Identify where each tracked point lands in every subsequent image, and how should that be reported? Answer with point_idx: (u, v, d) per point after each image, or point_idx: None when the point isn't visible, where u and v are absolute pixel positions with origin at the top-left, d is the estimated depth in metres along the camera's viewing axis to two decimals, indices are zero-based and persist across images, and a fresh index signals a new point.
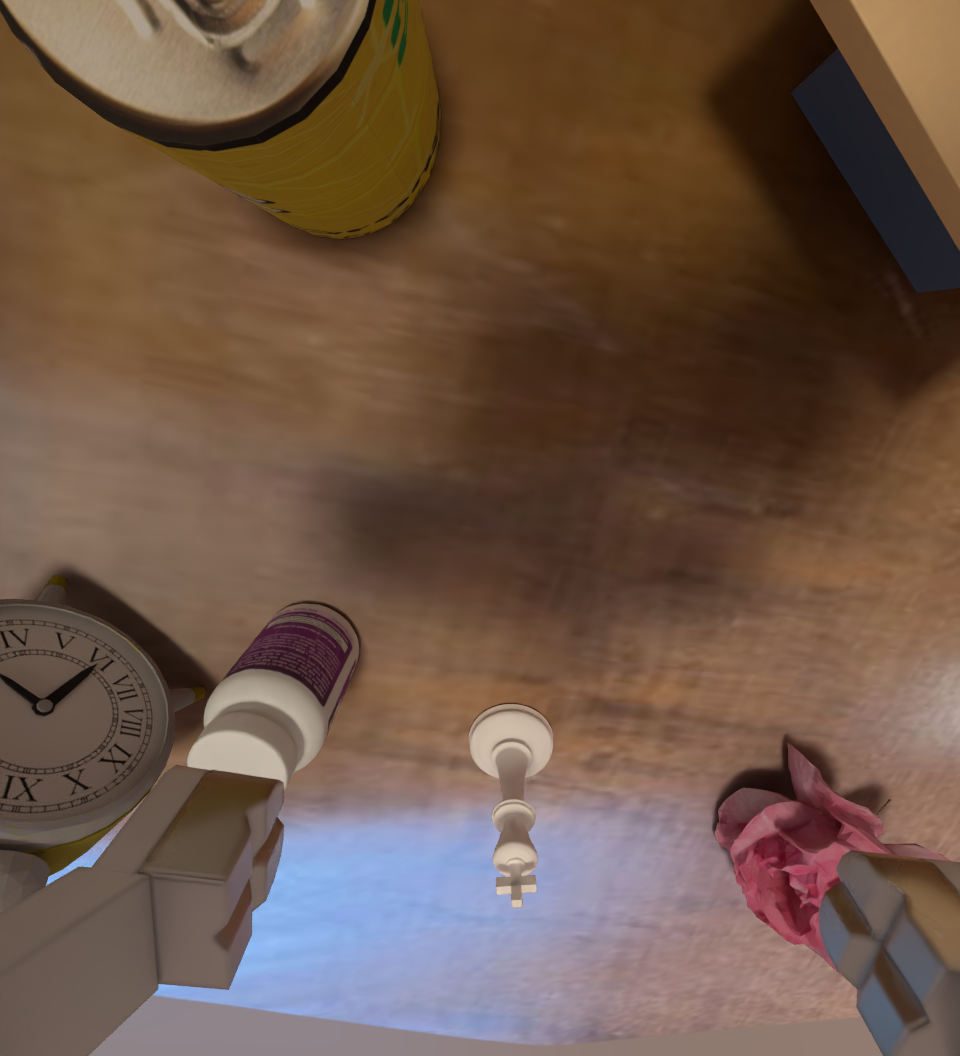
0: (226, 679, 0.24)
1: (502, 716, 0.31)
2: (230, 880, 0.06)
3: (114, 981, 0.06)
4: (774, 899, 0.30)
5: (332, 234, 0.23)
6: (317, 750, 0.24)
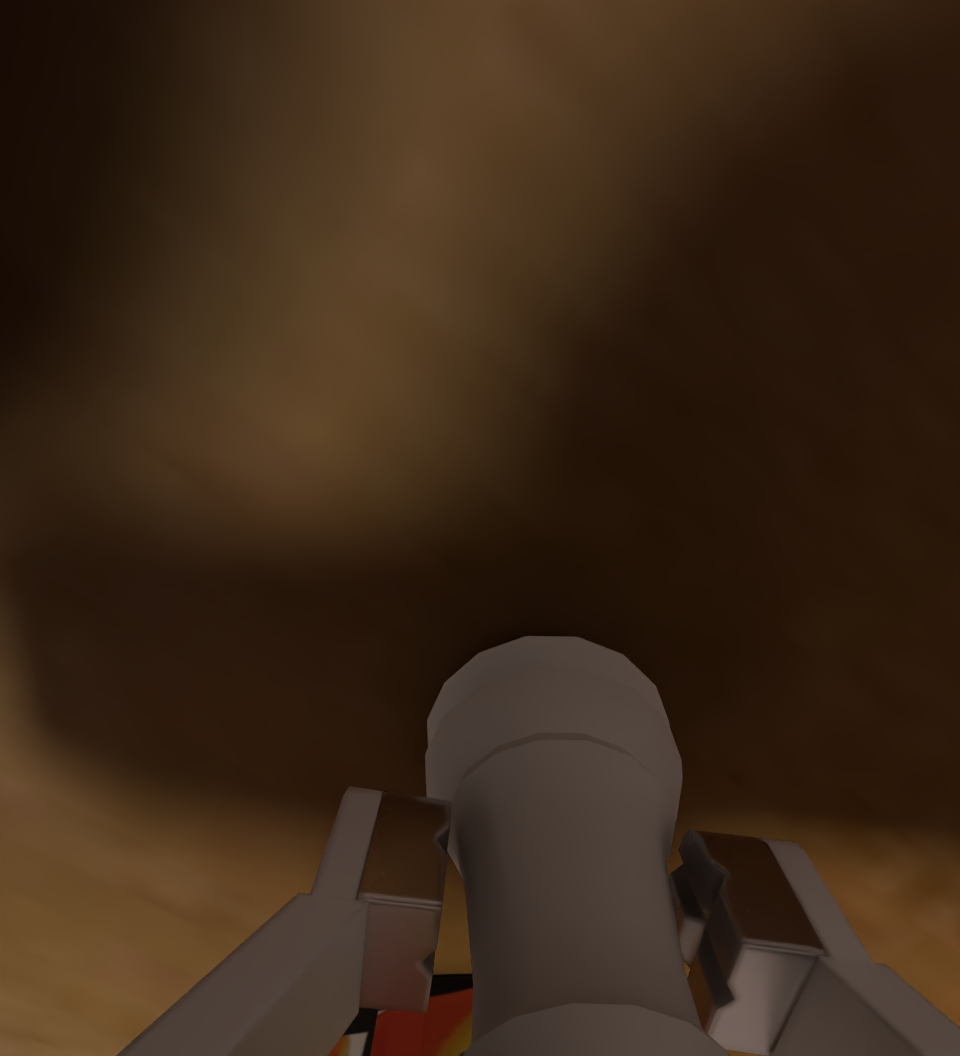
0: None
1: None
2: (441, 906, 0.06)
3: (334, 1007, 0.06)
4: None
5: None
6: None
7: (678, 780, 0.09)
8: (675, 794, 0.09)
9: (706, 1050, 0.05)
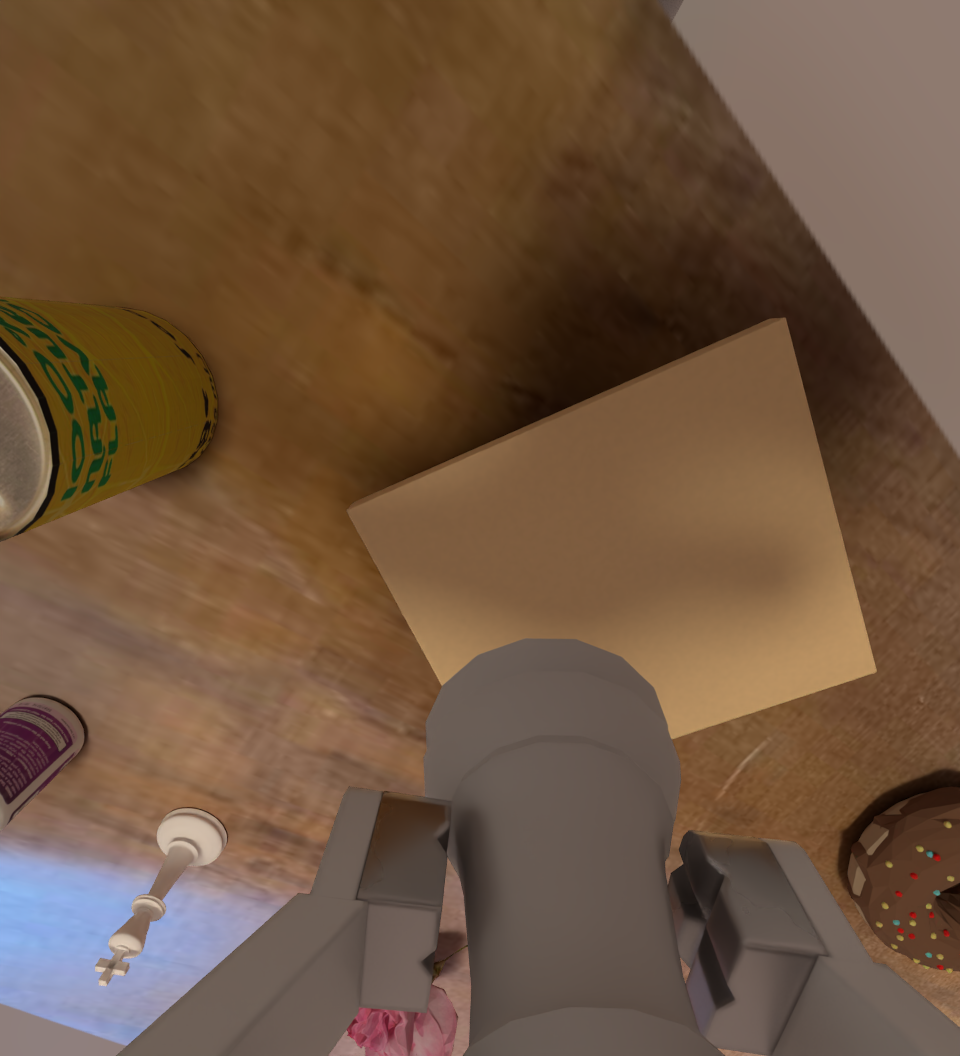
0: None
1: (185, 819, 0.39)
2: (441, 906, 0.06)
3: (334, 1007, 0.06)
4: None
5: None
6: None
7: (676, 782, 0.09)
8: (673, 796, 0.09)
9: (703, 1054, 0.05)
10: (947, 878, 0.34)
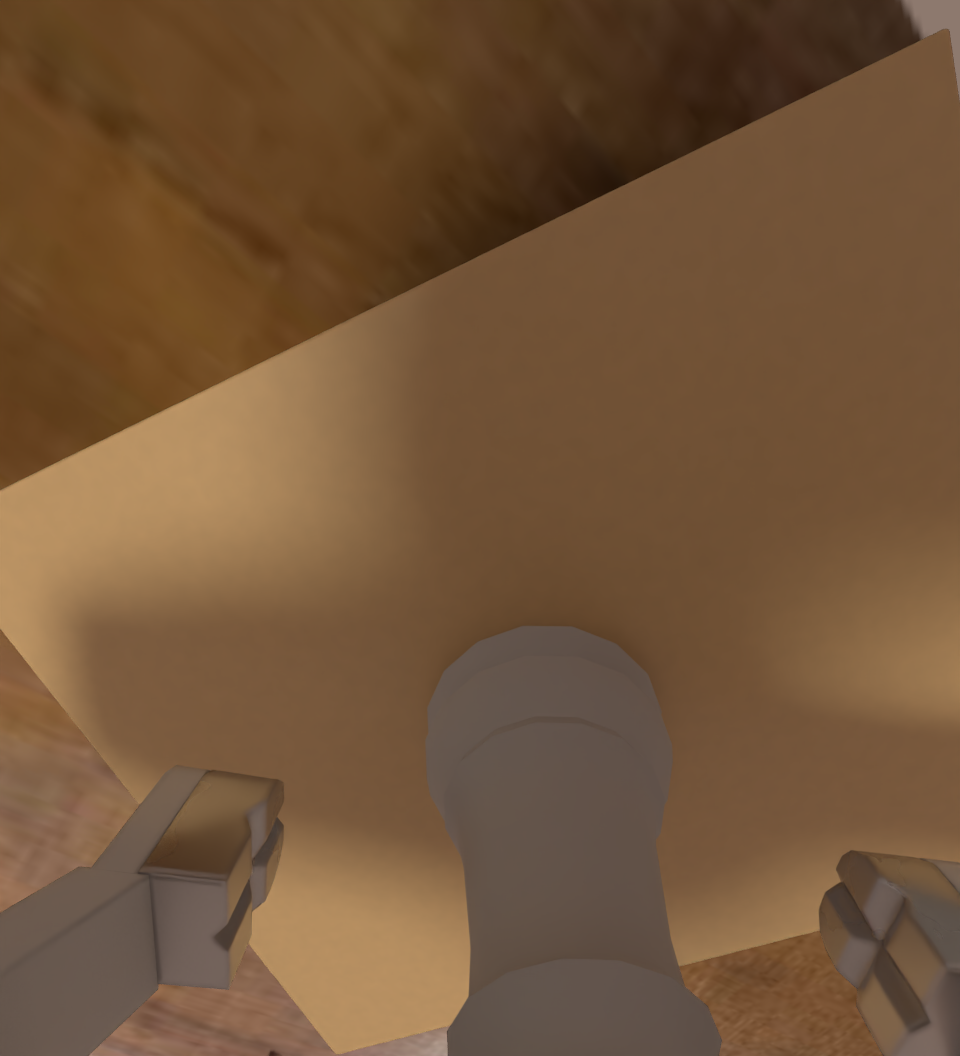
0: None
1: None
2: (231, 880, 0.06)
3: (114, 981, 0.06)
4: None
5: None
6: None
7: (668, 763, 0.09)
8: (665, 777, 0.09)
9: (687, 1003, 0.05)
10: None
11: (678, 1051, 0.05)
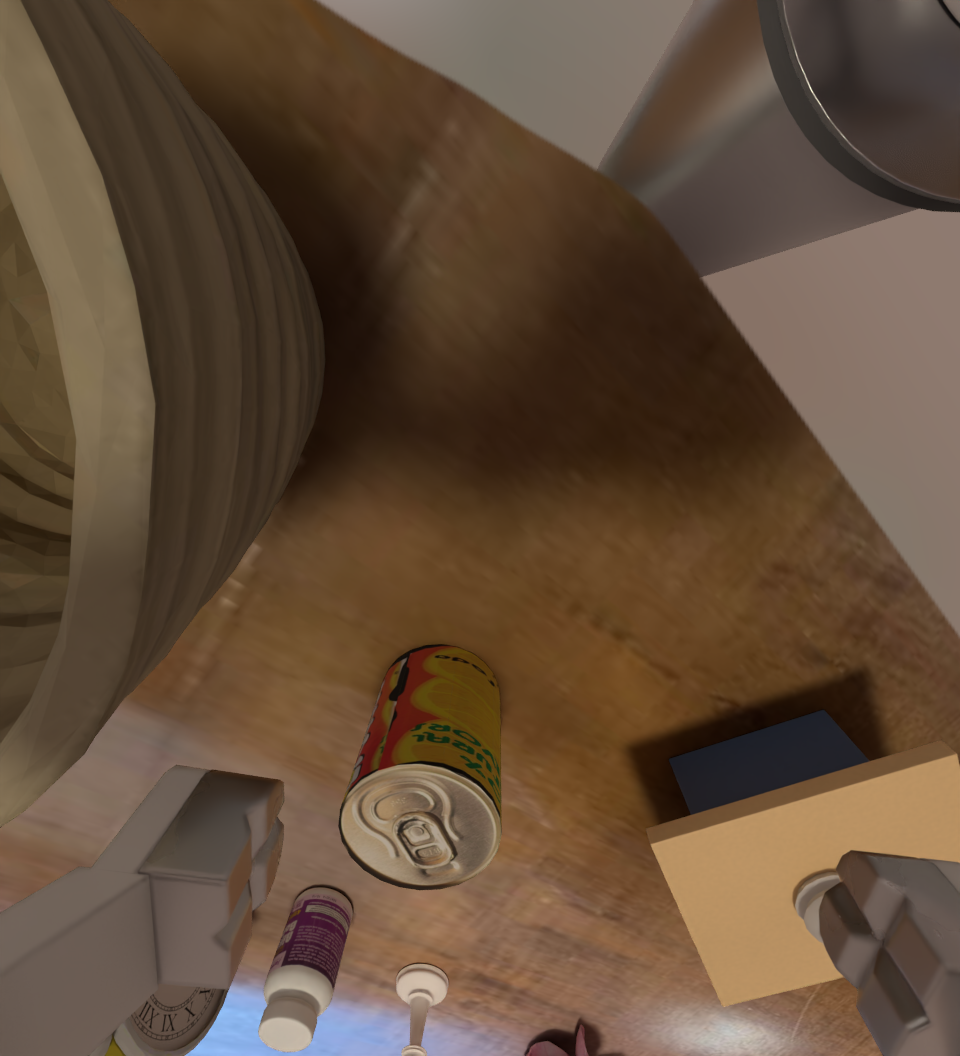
0: (286, 967, 0.42)
1: (422, 974, 0.50)
2: (231, 880, 0.06)
3: (114, 981, 0.06)
4: None
5: None
6: None
7: None
8: None
9: None
10: None
11: None
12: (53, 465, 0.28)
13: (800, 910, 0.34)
